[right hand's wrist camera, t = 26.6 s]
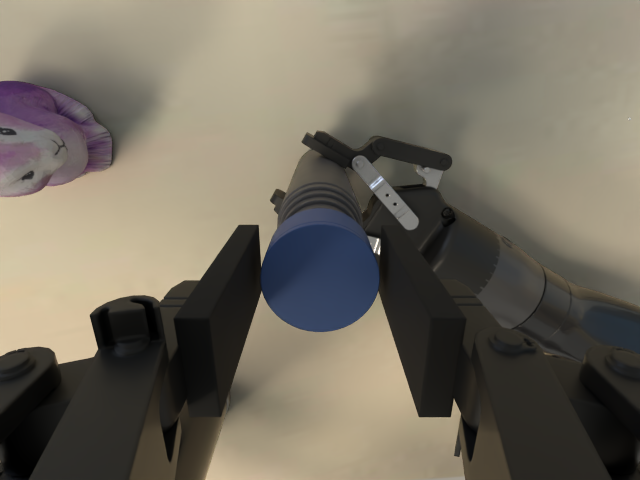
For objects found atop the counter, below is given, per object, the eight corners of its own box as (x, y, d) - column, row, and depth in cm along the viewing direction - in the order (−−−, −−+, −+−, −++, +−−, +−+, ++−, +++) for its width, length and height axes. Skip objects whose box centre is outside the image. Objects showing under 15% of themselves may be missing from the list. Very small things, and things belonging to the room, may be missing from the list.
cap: (252, 226, 14) (241, 245, 12) (355, 193, 13) (361, 208, 11) (288, 314, 15) (284, 344, 13) (383, 287, 15) (392, 314, 13)
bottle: (328, 138, 32) (343, 190, 12) (351, 180, 34) (400, 290, 13) (288, 163, 33) (236, 251, 13) (311, 202, 34) (299, 340, 14)
